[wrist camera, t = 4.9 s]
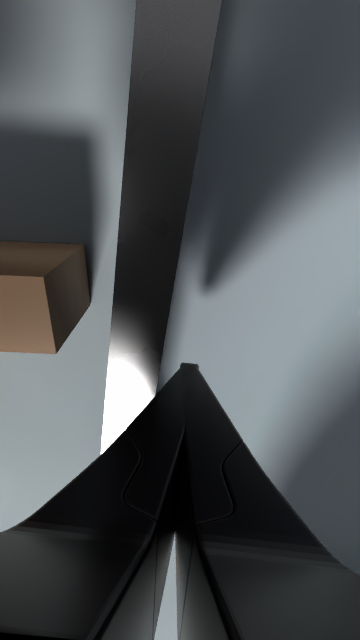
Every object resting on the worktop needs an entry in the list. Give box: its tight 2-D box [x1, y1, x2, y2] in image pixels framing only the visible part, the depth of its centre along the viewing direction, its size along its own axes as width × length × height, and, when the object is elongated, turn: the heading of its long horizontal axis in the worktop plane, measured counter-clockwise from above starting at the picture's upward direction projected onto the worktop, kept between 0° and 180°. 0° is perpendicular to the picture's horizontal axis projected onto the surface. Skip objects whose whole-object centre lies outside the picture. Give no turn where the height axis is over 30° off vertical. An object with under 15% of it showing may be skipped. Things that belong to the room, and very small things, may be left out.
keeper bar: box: [101, 0, 222, 454], centre depth 8 cm, size 21×2×4 cm, turn 171°
